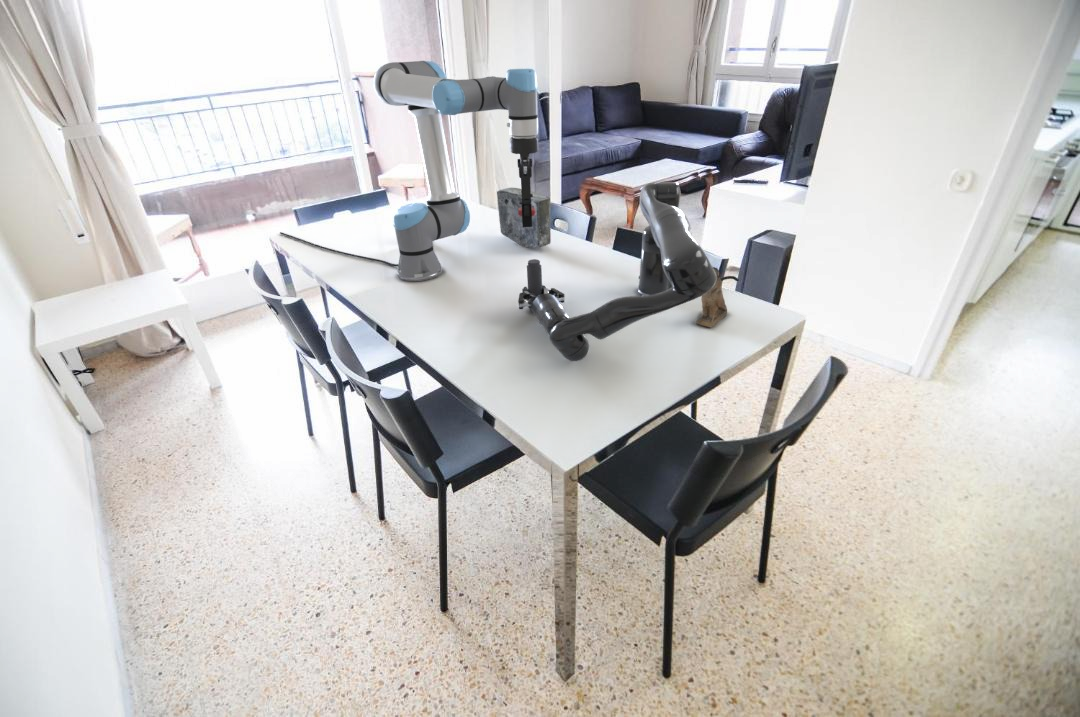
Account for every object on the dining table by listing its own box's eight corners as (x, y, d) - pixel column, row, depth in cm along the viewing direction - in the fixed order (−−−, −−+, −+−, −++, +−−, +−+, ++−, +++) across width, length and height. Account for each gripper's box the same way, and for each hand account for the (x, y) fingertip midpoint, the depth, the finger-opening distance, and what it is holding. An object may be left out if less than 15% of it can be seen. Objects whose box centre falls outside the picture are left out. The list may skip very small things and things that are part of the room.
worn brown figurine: (709, 335, 136) (713, 280, 124) (691, 329, 139) (693, 274, 128) (730, 313, 142) (736, 258, 130) (712, 307, 145) (716, 253, 133)
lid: (538, 213, 142) (538, 207, 142) (529, 217, 139) (529, 211, 138) (524, 211, 145) (524, 205, 144) (515, 215, 141) (514, 209, 140)
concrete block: (555, 250, 192) (555, 197, 181) (537, 255, 188) (535, 201, 177) (517, 234, 210) (514, 185, 200) (499, 238, 206) (496, 189, 196)
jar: (528, 313, 146) (525, 263, 138) (529, 307, 150) (527, 258, 141) (542, 314, 146) (540, 263, 138) (543, 308, 149) (541, 258, 141)
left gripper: (510, 131, 138) (514, 215, 151) (509, 142, 123) (514, 234, 136) (536, 131, 138) (539, 214, 151) (539, 141, 123) (541, 233, 136)
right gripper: (524, 329, 133) (510, 303, 147) (574, 320, 136) (555, 296, 150) (523, 303, 129) (508, 279, 143) (574, 295, 132) (555, 273, 146)
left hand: (527, 223), depth 143 cm, fingers closed on lid, 5 cm apart
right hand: (532, 288), depth 147 cm, fingers closed on jar, 4 cm apart
